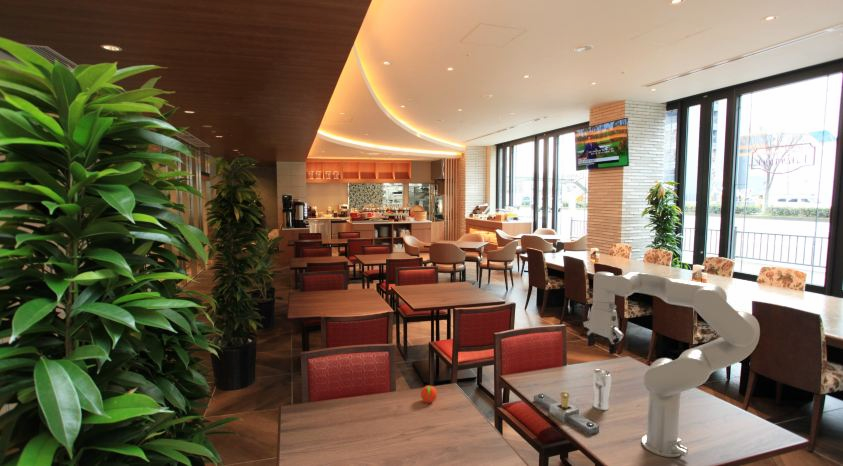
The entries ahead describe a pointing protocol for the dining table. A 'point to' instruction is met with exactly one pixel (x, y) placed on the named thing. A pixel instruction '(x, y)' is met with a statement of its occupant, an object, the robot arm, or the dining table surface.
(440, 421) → the dining table surface
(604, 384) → the metal tumbler
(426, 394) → the red tomato
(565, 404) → the link pin
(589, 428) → the studded connector plate
